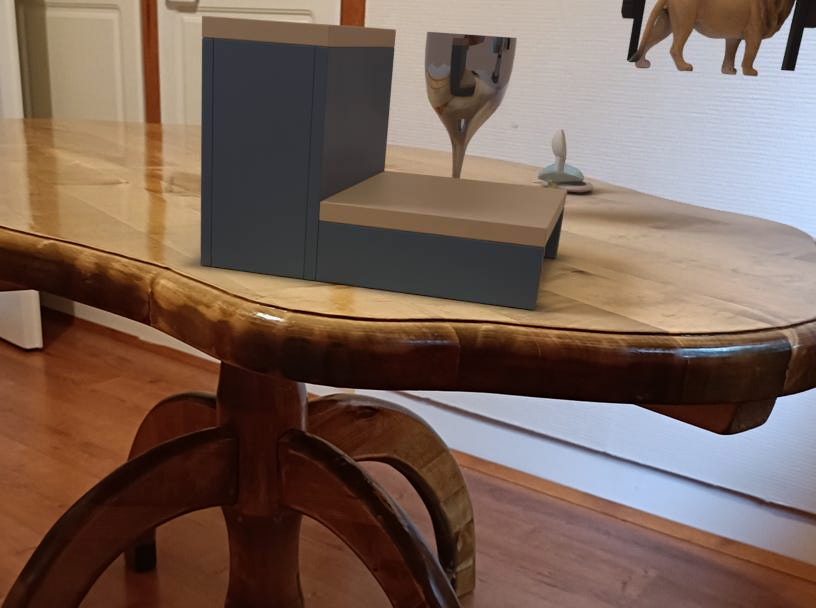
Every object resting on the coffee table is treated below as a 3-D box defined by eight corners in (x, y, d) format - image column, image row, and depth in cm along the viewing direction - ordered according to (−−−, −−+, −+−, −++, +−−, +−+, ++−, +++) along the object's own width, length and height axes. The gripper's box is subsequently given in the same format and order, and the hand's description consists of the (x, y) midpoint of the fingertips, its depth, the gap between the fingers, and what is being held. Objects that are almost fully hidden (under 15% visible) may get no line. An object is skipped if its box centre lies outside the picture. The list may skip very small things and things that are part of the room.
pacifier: (594, 189, 109) (541, 182, 111) (606, 132, 107) (552, 125, 108) (588, 198, 103) (533, 190, 104) (601, 137, 100) (544, 130, 102)
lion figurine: (756, 76, 87) (779, -35, 84) (796, 78, 83) (822, -39, 79) (612, 67, 83) (630, -49, 80) (645, 70, 79) (666, -54, 75)
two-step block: (556, 256, 73) (590, 43, 67) (534, 310, 58) (576, 41, 52) (284, 223, 78) (292, 22, 72) (200, 265, 63) (201, 15, 57)
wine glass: (494, 219, 86) (518, 37, 80) (406, 211, 87) (423, 31, 81) (495, 205, 93) (516, 38, 87) (413, 198, 94) (429, 32, 88)
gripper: (604, -244, 74) (562, 56, 83) (954, -248, 68) (870, 76, 77) (607, -219, 81) (568, 56, 89) (926, -221, 75) (851, 74, 84)
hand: (707, 66), depth 83 cm, fingers closed on lion figurine, 12 cm apart
